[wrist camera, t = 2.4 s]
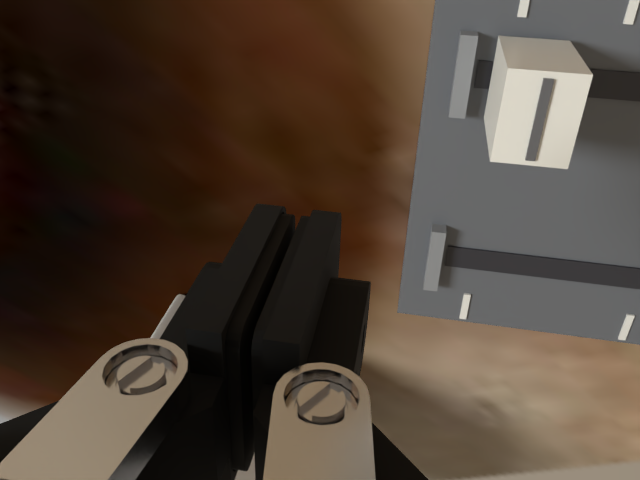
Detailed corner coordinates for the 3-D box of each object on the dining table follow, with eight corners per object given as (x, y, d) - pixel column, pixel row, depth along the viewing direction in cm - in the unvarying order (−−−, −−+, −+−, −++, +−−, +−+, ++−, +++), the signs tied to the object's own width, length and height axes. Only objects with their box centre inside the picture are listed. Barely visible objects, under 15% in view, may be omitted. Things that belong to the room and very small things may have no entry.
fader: (498, 35, 21) (508, 68, 18) (569, 40, 21) (594, 75, 18) (483, 117, 23) (489, 162, 20) (549, 123, 23) (568, 170, 19)
